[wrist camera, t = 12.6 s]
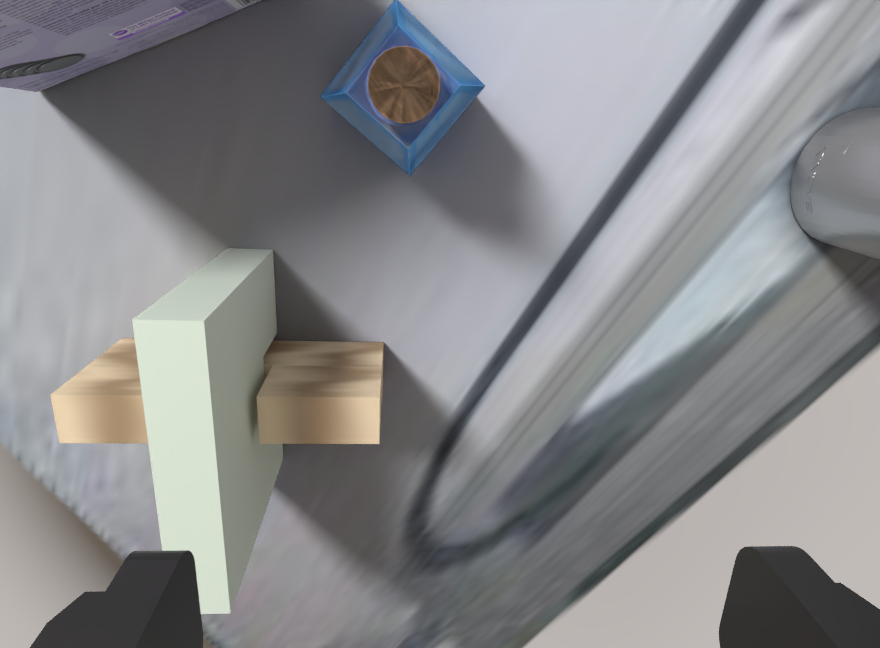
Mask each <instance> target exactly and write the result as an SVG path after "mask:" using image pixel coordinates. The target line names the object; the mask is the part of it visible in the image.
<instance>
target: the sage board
mask: <svg viewBox="0 0 880 648" xmlns="http://www.w3.org/2000/svg"><path fill="white" fill-rule="evenodd" d="M132 323H133V330H134V338H135V345H136V353H137V361H138V368H139V376H140V384H141V391H142V399H143V406H144V414H145V422H146V429H147V437H148V445H149V452H150V460H151V467H152V475H153V483H154V490H155V498H156V506H157V513H158V521H159V528H160V536H161V544H162V551H182V550H189V551H191V552H192V554H193V556H194V560H195V567H196V576H197V585H198V594H199V603H200V612H201V614H227V613H231V610H232V607H233V604H234V601H235V599H236V596H237V593H238V590H239V587H240V584H241V581H242V578H243V575H244V572H245V569H246V566H247V563H248V561H249V558H250V555H251V552H252V549H253V546H254V543H255V540H256V537H257V534H258V531H259V528H260V525H261V523H262V520H263V517H264V514H265V511H266V508H267V505H268V502H269V499H270V496H271V493H272V490H273V487H274V484H275V482H276V479H277V476H278V473H279V470H280V467H281V464H282V461H283V444H260V442H259V427H258V411H257V395H258V393H259V391H260V389H261V387H262V385H263V383H264V381H265V375H264V358H263V356H264V355H265V353H266V351H267V349H268V348H269V346H270V344H271V342H272V341H273V339H274V337H275V336H276V334H277V318H276V298H275V278H274V257H273V250H272V249H235V248H227V249H226V250H224V251H223V252H222V253H220V254H219V255H218V256H216V257H215V258H214V259H212V260H211V261H210V262H208V263H207V264H206V265H204V266H203V267H202V268H200V269H199V270H198V271H196V272H195V273H194V274H192V275H191V276H190V277H188V278H187V279H186V280H184V281H183V282H182V283H180V284H179V285H178V286H176V287H175V288H174V289H172V290H171V291H170V292H168V293H167V294H166V295H164V296H163V297H162V298H160V299H159V300H158V301H156V302H155V303H154V304H152V305H151V306H150V307H148V308H147V309H146V310H144V311H143V312H142V313H140V314H139V315H138V316H136V317H135V318H134V319H132Z"/></svg>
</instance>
